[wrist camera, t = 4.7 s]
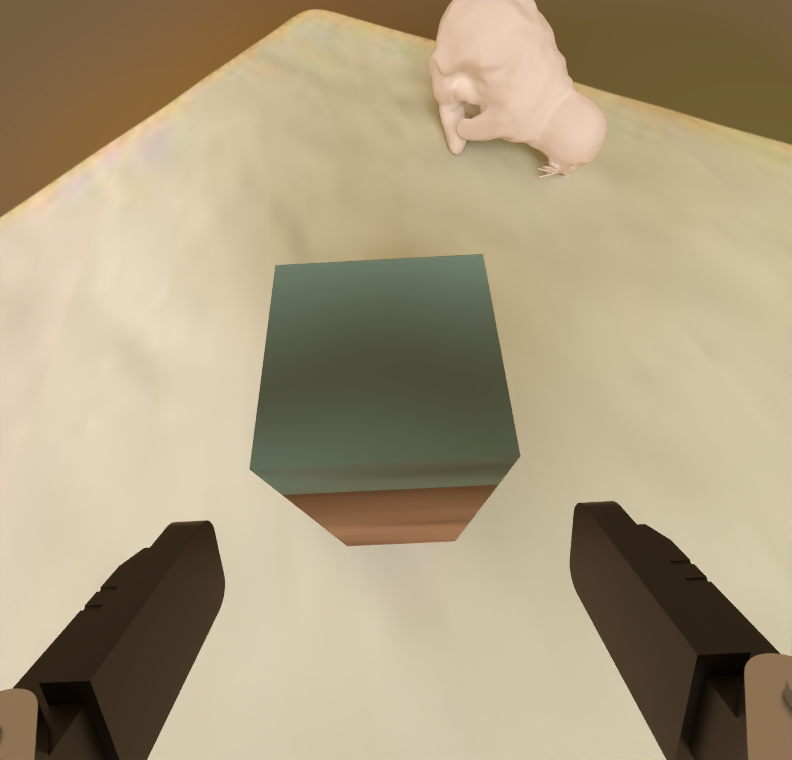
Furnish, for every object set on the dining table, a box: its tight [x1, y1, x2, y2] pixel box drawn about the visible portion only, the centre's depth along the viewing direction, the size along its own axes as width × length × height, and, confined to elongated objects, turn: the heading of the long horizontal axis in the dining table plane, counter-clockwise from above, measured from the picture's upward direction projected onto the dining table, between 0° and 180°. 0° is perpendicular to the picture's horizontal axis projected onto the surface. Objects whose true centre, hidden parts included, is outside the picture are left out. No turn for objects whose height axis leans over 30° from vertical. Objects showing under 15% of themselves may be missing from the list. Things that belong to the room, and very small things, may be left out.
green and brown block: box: [250, 254, 520, 546], centre depth 13 cm, size 5×5×12 cm
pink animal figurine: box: [428, 0, 607, 178], centre depth 26 cm, size 6×8×12 cm
